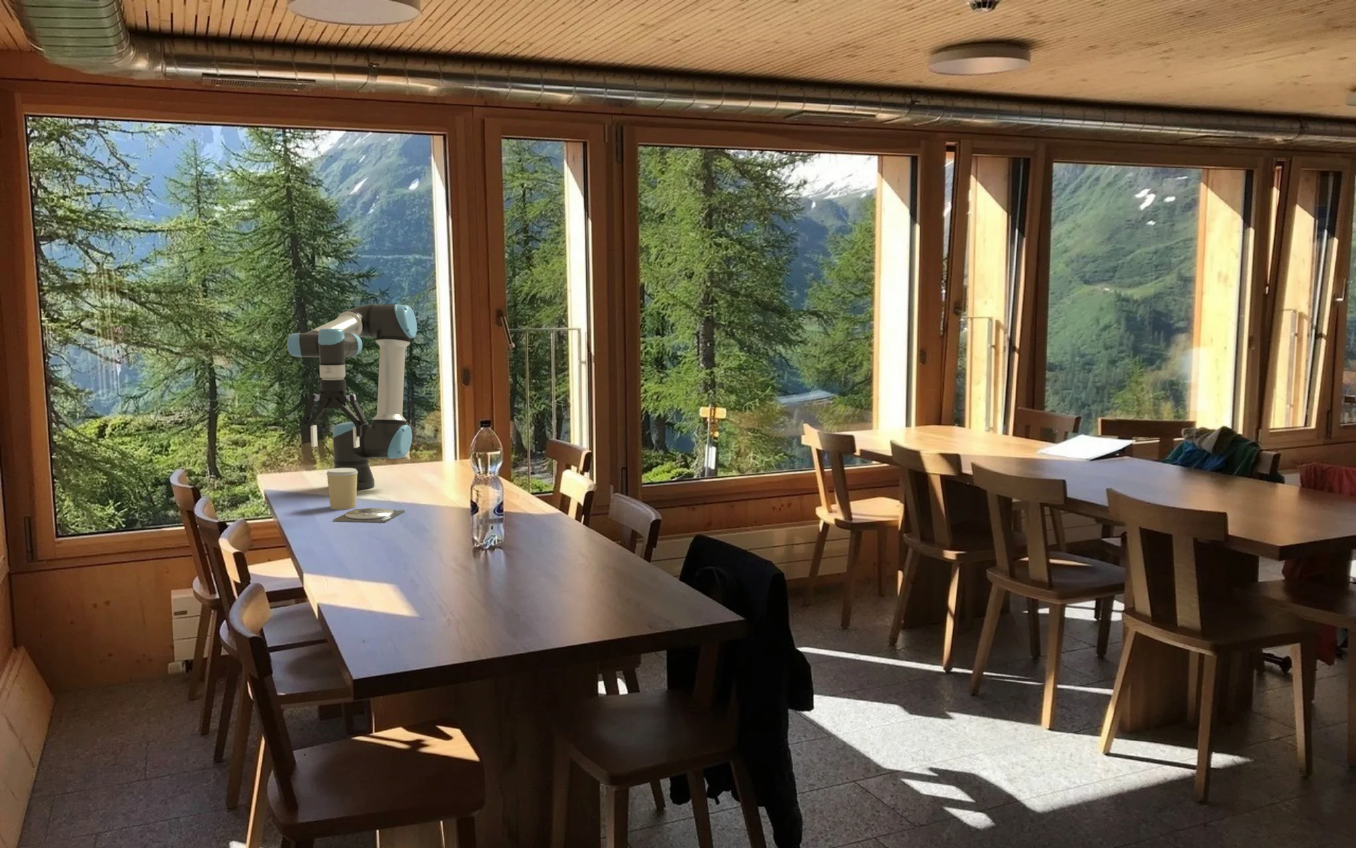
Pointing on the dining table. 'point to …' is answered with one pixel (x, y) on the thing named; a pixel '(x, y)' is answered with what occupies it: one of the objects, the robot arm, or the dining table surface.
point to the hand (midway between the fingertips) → (335, 446)
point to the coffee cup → (342, 488)
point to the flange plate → (369, 515)
